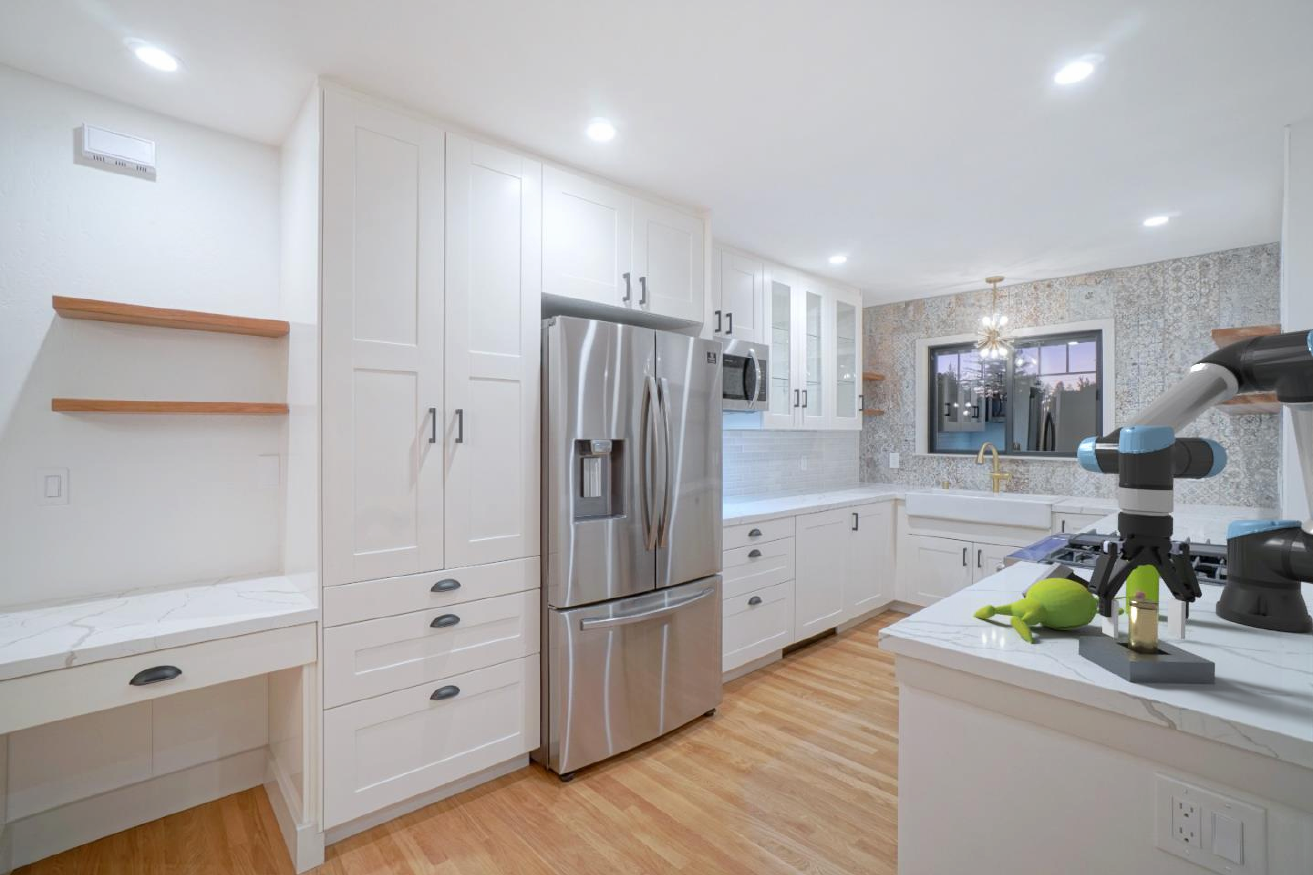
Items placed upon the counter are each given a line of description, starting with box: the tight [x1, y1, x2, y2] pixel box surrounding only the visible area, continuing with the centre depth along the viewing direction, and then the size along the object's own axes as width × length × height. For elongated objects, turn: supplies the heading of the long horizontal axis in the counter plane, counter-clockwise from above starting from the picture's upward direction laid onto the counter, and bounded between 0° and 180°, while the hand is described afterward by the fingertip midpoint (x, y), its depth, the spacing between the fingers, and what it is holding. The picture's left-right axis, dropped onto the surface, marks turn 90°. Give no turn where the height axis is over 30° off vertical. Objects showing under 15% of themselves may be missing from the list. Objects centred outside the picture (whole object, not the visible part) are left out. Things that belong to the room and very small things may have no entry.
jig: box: [1078, 635, 1216, 685], centre depth 102 cm, size 14×12×4 cm
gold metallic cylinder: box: [1127, 598, 1159, 655], centre depth 102 cm, size 4×4×12 cm
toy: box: [972, 578, 1145, 644], centre depth 125 cm, size 20×10×30 cm
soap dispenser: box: [1125, 560, 1160, 619], centre depth 134 cm, size 6×7×20 cm
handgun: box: [1021, 561, 1090, 599], centre depth 145 cm, size 4×15×12 cm
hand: (1143, 635), depth 102 cm, fingers open, 11 cm apart
